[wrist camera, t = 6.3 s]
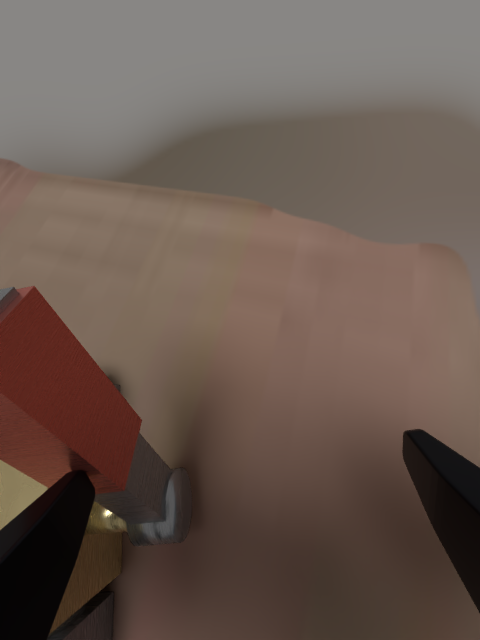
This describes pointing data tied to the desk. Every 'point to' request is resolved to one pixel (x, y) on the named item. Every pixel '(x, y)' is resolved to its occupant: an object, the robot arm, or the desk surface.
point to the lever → (80, 424)
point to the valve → (91, 565)
